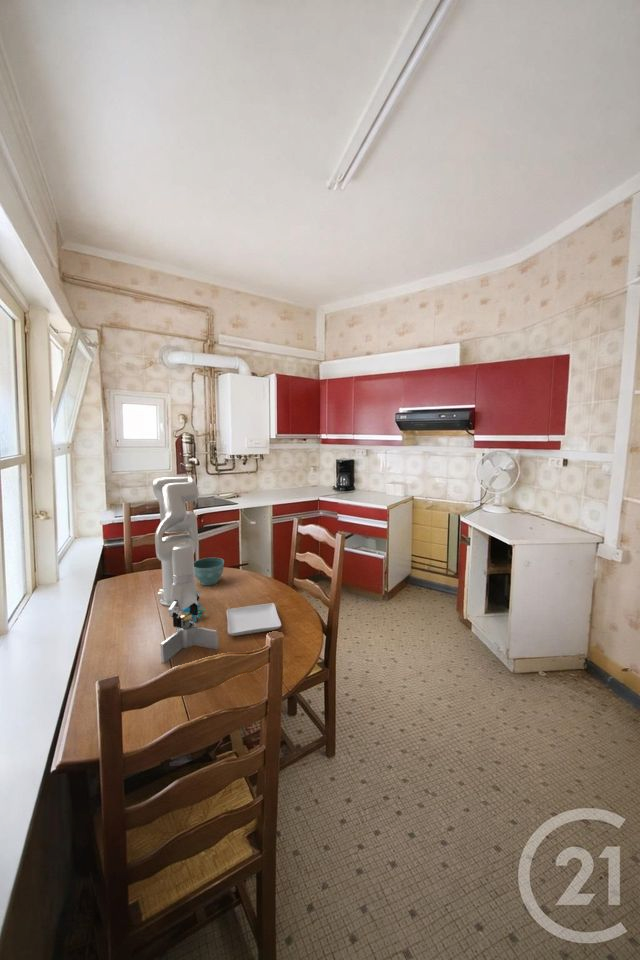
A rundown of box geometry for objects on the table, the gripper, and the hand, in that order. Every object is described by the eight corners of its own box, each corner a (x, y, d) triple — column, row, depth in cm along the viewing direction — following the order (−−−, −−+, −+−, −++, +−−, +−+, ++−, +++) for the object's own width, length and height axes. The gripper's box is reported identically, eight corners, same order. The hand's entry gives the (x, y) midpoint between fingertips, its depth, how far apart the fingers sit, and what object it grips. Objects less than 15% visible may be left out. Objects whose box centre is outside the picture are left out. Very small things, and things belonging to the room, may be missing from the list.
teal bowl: (212, 590, 192) (211, 569, 190) (186, 585, 197) (185, 565, 196) (230, 578, 207) (230, 559, 205) (206, 574, 212) (205, 556, 211)
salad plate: (228, 641, 146) (227, 632, 145) (226, 615, 166) (226, 608, 166) (282, 633, 152) (282, 625, 151) (274, 609, 172) (274, 602, 171)
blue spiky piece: (176, 622, 156) (179, 599, 162) (176, 627, 160) (178, 604, 166) (204, 622, 159) (205, 599, 166) (203, 626, 164) (204, 604, 170)
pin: (177, 645, 142) (175, 617, 141) (185, 638, 147) (183, 611, 145) (187, 647, 141) (186, 619, 139) (195, 640, 145) (194, 613, 144)
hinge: (154, 661, 133) (153, 642, 132) (185, 636, 148) (184, 620, 147) (195, 670, 128) (194, 650, 127) (222, 644, 143) (221, 626, 142)
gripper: (190, 568, 150) (191, 609, 152) (159, 585, 134) (161, 630, 136) (206, 570, 148) (207, 611, 150) (176, 587, 131) (179, 633, 134)
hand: (186, 620), depth 143 cm, fingers open, 9 cm apart
